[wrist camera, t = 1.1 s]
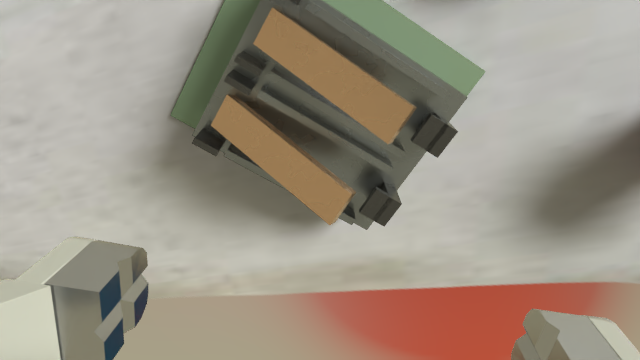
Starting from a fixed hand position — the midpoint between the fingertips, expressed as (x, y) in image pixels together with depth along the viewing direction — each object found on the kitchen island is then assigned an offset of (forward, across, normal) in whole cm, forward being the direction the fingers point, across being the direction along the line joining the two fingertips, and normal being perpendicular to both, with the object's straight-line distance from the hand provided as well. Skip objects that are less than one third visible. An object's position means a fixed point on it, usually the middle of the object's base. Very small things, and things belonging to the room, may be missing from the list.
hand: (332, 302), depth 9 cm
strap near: (+22, +1, -1) cm, 22 cm away
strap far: (+22, +4, +5) cm, 23 cm away
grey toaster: (+31, +2, +2) cm, 31 cm away
